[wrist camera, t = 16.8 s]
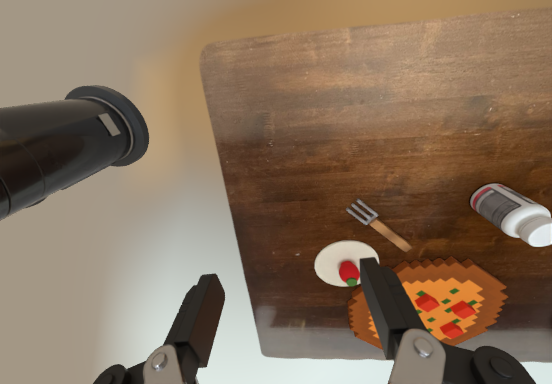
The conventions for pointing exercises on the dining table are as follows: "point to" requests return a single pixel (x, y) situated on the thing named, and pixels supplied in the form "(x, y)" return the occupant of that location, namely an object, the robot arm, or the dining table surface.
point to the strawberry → (349, 273)
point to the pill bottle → (514, 214)
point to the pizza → (439, 300)
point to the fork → (379, 226)
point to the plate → (341, 259)
